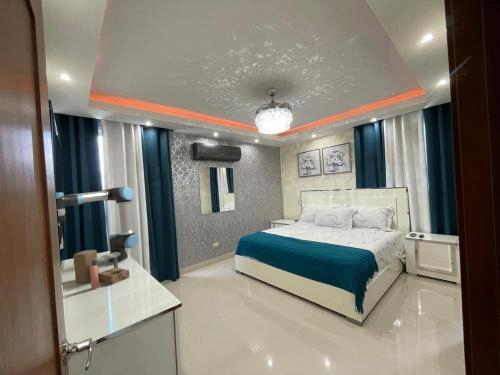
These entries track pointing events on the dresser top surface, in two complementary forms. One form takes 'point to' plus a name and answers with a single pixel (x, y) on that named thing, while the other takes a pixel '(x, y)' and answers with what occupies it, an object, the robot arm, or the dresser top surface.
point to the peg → (94, 277)
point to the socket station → (111, 270)
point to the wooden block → (84, 265)
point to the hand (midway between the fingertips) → (60, 247)
